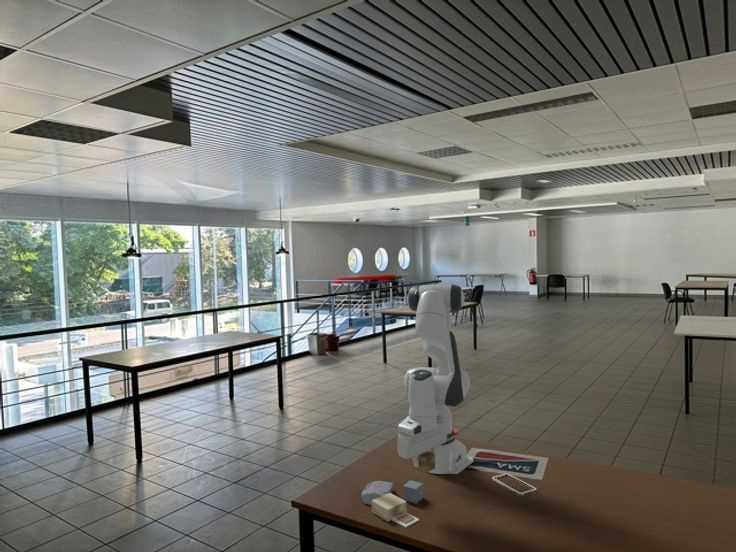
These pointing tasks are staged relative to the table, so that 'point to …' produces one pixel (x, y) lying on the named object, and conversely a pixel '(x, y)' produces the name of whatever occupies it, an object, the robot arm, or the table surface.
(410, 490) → the slate cube
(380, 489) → the stone block
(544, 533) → the table surface
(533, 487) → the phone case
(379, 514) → the oak base block
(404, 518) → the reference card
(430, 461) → the walnut cube
